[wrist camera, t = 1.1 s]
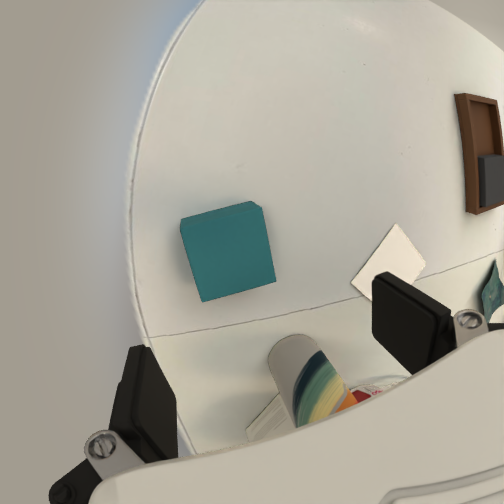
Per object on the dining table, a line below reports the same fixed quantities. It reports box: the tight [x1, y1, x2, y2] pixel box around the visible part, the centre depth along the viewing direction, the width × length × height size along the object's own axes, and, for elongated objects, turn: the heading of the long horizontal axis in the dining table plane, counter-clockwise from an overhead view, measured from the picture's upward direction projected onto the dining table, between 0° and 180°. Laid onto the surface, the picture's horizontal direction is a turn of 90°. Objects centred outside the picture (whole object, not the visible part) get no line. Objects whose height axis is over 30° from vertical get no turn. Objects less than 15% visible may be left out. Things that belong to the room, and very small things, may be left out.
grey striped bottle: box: [268, 335, 358, 428], centre depth 20 cm, size 6×6×20 cm
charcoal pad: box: [477, 154, 504, 207], centre depth 27 cm, size 6×7×2 cm
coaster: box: [351, 223, 426, 301], centre depth 29 cm, size 8×8×1 cm
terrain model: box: [482, 260, 504, 323], centre depth 36 cm, size 13×8×2 cm, turn 43°
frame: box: [454, 93, 504, 215], centre depth 27 cm, size 16×10×2 cm, turn 12°
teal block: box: [180, 201, 276, 302], centre depth 23 cm, size 6×6×4 cm
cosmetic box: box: [246, 393, 295, 442], centre depth 25 cm, size 8×7×16 cm
